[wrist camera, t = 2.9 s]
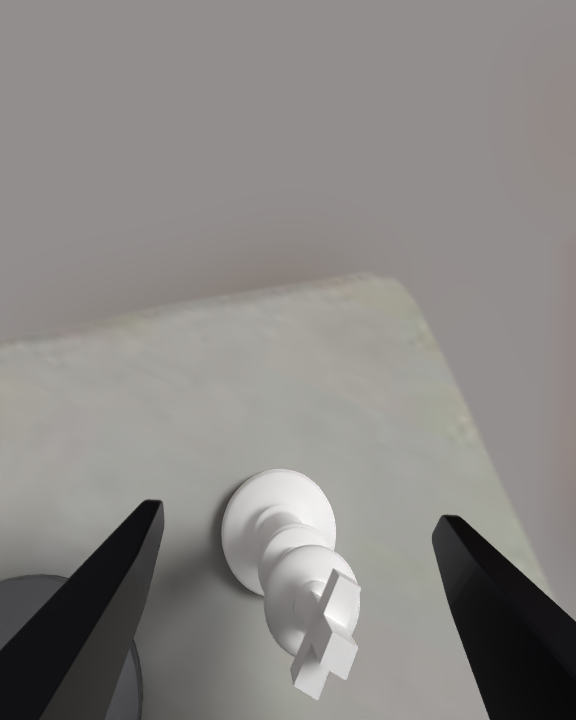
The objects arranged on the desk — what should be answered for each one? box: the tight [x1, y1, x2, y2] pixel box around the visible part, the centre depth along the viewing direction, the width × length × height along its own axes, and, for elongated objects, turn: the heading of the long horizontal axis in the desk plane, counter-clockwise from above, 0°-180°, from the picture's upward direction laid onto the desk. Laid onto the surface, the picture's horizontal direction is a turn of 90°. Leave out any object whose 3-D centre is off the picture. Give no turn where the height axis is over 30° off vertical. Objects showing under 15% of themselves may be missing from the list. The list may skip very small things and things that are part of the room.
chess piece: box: [221, 469, 362, 701], centre depth 10 cm, size 5×5×10 cm
